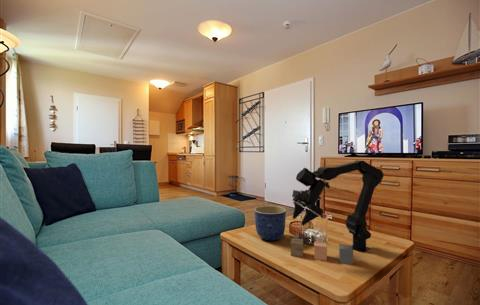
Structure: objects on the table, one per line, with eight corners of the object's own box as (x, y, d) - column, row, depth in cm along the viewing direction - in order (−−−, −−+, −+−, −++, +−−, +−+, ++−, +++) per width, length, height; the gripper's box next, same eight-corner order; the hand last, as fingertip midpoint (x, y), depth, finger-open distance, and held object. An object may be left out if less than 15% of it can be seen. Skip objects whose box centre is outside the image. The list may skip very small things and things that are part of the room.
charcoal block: (338, 257, 99) (338, 243, 99) (351, 259, 98) (351, 245, 98) (339, 262, 95) (339, 248, 95) (353, 264, 93) (353, 250, 93)
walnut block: (292, 251, 106) (292, 238, 106) (303, 252, 104) (303, 239, 104) (290, 255, 101) (290, 242, 101) (302, 257, 100) (302, 243, 100)
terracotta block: (314, 254, 103) (314, 241, 103) (326, 255, 101) (326, 242, 101) (314, 259, 98) (314, 245, 98) (326, 261, 96) (326, 246, 96)
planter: (248, 236, 125) (248, 208, 125) (271, 229, 135) (271, 204, 134) (268, 246, 111) (268, 215, 111) (293, 239, 120) (292, 210, 120)
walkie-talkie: (295, 233, 129) (293, 248, 110) (295, 226, 129) (293, 239, 110) (312, 235, 127) (312, 250, 107) (311, 227, 127) (312, 241, 107)
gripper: (292, 180, 112) (276, 207, 110) (310, 185, 93) (291, 219, 92) (310, 191, 113) (294, 218, 112) (331, 199, 95) (313, 232, 93)
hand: (297, 221), depth 102 cm, fingers open, 9 cm apart
